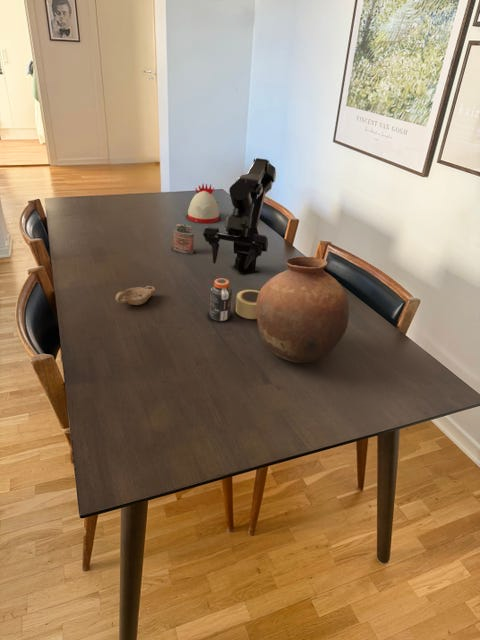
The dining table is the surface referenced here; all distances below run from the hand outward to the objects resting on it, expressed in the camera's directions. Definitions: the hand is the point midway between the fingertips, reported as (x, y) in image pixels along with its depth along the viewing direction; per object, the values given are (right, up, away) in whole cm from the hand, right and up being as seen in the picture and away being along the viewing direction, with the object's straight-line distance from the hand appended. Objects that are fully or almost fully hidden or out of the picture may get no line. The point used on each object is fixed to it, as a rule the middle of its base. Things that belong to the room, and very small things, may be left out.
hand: (229, 265), depth 128 cm
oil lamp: (-28, -10, +3) cm, 30 cm away
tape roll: (+6, -13, +4) cm, 15 cm away
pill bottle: (-3, -15, 0) cm, 15 cm away
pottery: (+18, -24, -11) cm, 31 cm away
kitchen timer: (-13, +30, +70) cm, 77 cm away
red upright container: (-18, +10, +38) cm, 43 cm away
